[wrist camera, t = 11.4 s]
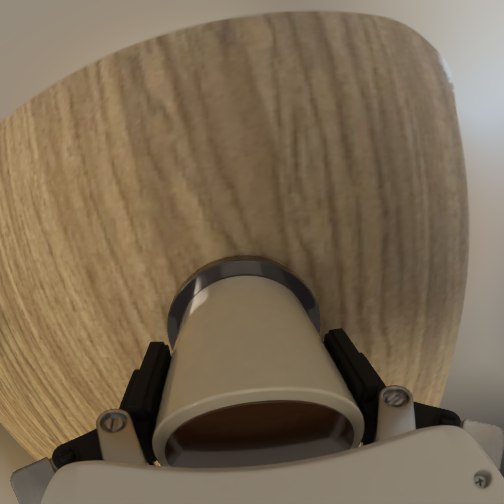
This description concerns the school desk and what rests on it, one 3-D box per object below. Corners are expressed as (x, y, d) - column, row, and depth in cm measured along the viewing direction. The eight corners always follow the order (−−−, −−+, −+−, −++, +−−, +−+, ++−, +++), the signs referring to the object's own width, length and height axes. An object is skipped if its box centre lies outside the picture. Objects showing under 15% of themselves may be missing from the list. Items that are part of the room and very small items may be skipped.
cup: (168, 282, 13) (116, 396, 5) (306, 266, 13) (385, 364, 6) (203, 415, 15) (200, 517, 8) (306, 402, 16) (339, 499, 8)
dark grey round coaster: (149, 274, 13) (145, 280, 13) (306, 239, 14) (311, 243, 13) (195, 390, 16) (194, 398, 15) (321, 364, 16) (325, 371, 15)
